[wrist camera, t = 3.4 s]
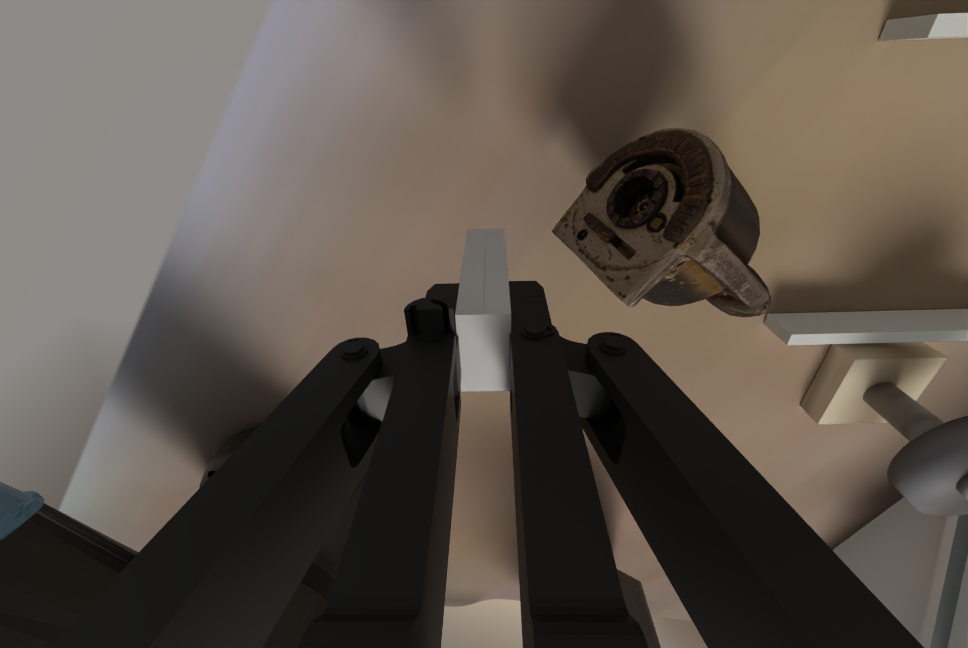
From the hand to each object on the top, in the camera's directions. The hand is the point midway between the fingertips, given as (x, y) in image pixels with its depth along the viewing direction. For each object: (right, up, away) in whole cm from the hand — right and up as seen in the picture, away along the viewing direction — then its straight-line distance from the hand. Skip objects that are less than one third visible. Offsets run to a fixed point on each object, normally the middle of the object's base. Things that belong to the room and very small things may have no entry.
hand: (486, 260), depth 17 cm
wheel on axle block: (+28, -6, +13) cm, 31 cm away
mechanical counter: (+10, +4, +7) cm, 13 cm away
